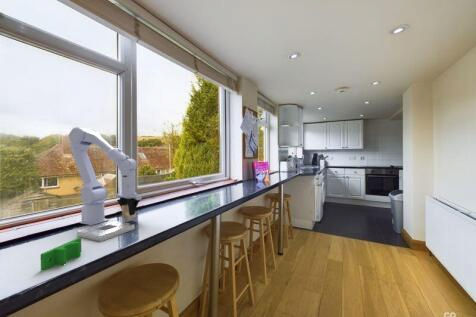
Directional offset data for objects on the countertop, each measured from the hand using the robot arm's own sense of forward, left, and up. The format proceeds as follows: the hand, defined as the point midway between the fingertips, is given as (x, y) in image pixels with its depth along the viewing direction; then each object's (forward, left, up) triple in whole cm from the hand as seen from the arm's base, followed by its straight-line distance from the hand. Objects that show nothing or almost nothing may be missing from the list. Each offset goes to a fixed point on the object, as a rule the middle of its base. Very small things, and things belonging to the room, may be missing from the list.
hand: (128, 214), depth 96 cm
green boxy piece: (+16, -32, -4) cm, 36 cm away
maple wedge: (0, 0, -2) cm, 2 cm away
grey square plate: (+4, -13, -4) cm, 14 cm away
